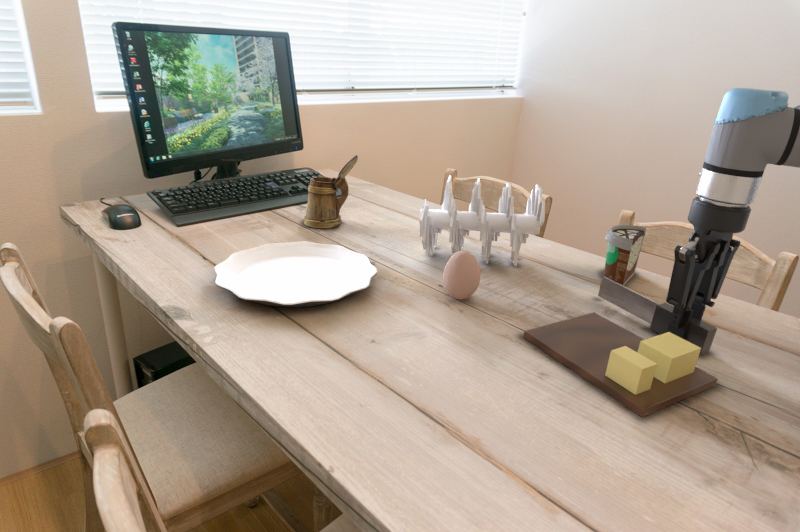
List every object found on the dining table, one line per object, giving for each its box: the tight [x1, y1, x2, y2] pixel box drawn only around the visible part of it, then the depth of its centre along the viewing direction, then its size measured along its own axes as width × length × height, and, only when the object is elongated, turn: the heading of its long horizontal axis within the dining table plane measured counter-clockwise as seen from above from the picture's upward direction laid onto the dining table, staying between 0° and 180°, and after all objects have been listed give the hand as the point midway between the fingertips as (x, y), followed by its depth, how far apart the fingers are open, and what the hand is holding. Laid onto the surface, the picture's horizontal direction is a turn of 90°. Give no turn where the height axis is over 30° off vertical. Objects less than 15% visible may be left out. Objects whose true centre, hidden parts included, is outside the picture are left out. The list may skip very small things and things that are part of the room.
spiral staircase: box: [419, 175, 546, 267], centre depth 112 cm, size 18×18×25 cm
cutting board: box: [523, 311, 718, 418], centre depth 79 cm, size 22×16×1 cm
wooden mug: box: [303, 154, 359, 229], centre depth 129 cm, size 9×14×18 cm, turn 73°
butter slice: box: [605, 346, 657, 395], centre depth 71 cm, size 5×3×4 cm, turn 30°
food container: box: [603, 224, 647, 286], centre depth 109 cm, size 12×6×10 cm, turn 144°
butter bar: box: [637, 332, 701, 383], centre depth 75 cm, size 5×6×4 cm
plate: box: [213, 240, 378, 308], centre depth 100 cm, size 29×29×2 cm
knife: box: [597, 275, 718, 357], centre depth 90 cm, size 21×2×4 cm, turn 30°
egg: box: [442, 250, 481, 300], centre depth 95 cm, size 7×7×9 cm
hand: (679, 340), depth 86 cm, fingers closed on knife, 2 cm apart
